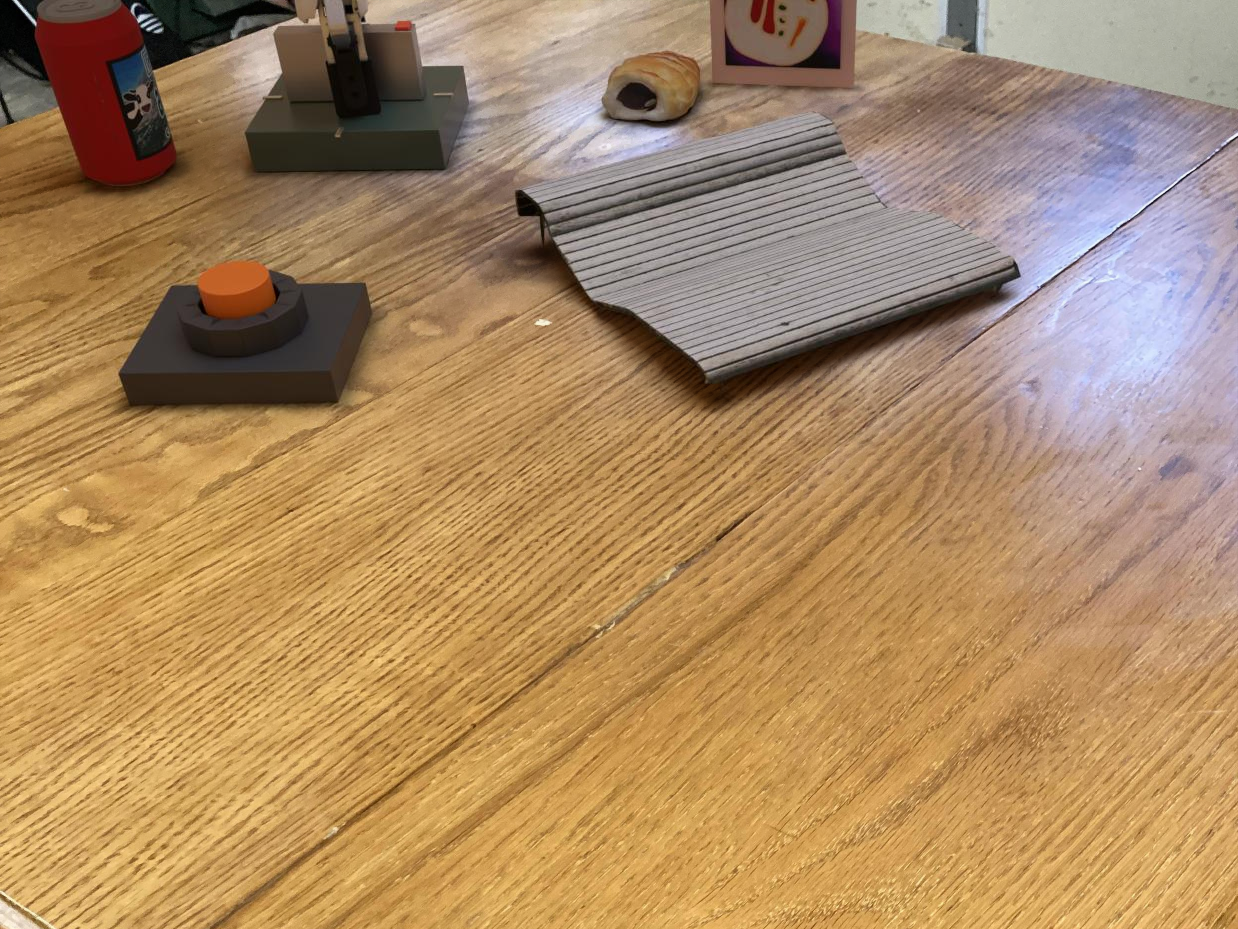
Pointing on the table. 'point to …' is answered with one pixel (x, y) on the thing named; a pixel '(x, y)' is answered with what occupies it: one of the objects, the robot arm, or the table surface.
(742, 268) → the mat
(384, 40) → the grey rectangular slab
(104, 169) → the beverage can
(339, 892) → the table surface
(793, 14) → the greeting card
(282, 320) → the button box
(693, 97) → the pastry
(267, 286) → the button
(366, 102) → the robot arm
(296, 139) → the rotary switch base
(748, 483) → the table surface
